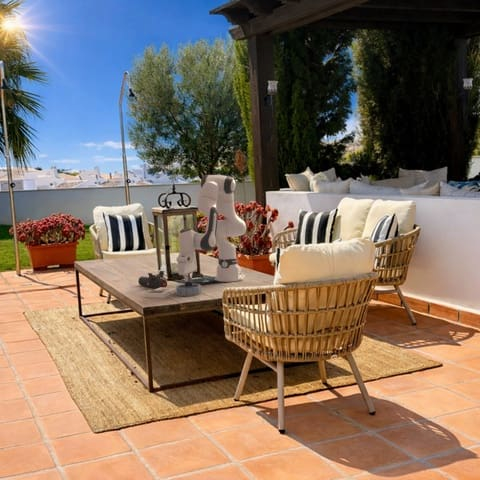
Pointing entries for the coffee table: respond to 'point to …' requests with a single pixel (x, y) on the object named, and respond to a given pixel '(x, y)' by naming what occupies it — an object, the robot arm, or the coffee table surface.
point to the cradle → (159, 292)
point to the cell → (189, 280)
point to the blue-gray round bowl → (188, 290)
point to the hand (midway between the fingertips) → (188, 280)
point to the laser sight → (153, 280)
